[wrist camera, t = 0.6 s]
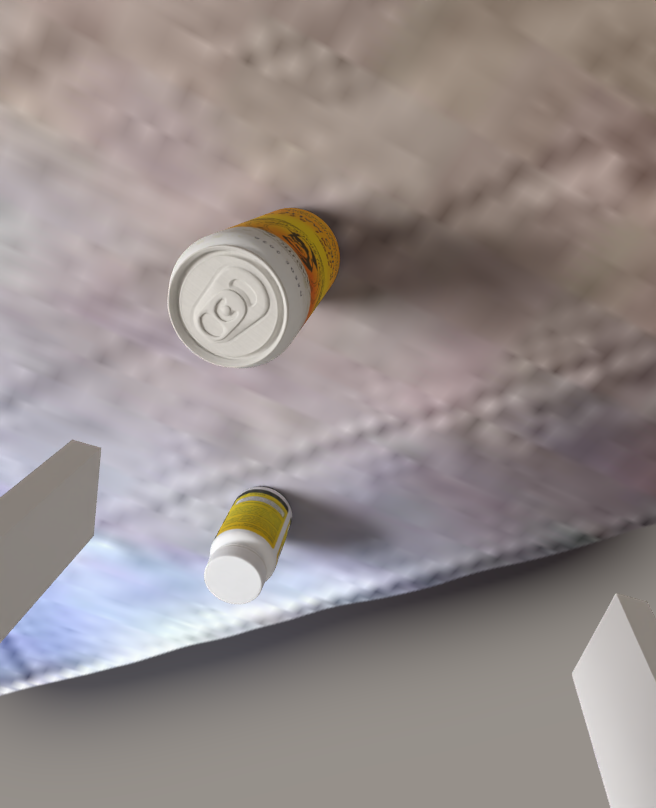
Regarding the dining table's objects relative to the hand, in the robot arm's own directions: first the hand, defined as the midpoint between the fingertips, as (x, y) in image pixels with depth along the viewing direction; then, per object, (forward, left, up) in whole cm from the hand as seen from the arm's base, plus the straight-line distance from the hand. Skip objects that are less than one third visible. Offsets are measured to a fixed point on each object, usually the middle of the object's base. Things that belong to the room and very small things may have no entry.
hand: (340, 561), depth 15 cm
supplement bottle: (+18, -6, -27) cm, 33 cm away
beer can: (-2, -7, -27) cm, 28 cm away
